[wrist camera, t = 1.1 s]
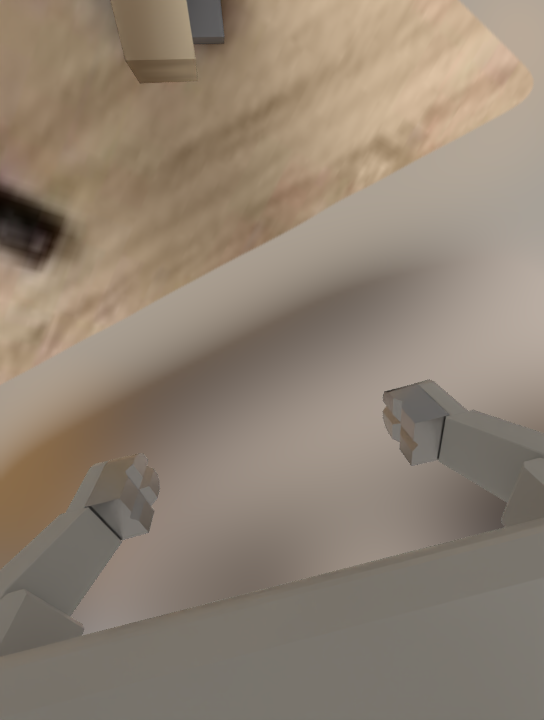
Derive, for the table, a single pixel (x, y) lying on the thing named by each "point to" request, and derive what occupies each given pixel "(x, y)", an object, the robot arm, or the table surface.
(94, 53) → the table surface
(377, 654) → the robot arm
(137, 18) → the tan brown bar
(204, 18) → the shelf stand
